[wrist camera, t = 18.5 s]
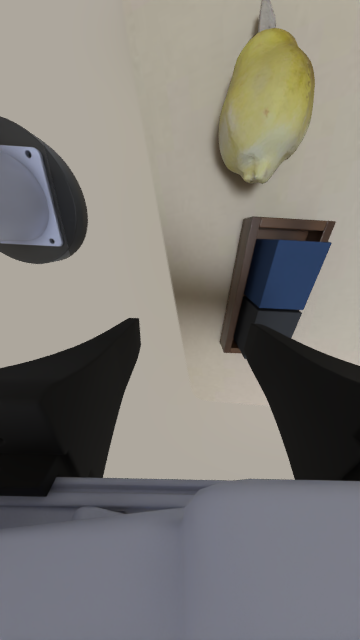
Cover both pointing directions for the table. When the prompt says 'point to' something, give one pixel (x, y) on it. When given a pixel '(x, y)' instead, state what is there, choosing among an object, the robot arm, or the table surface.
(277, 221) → the frame
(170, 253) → the table surface
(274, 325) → the dark grey rectangular block
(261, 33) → the fruit
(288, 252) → the blue rectangular block
